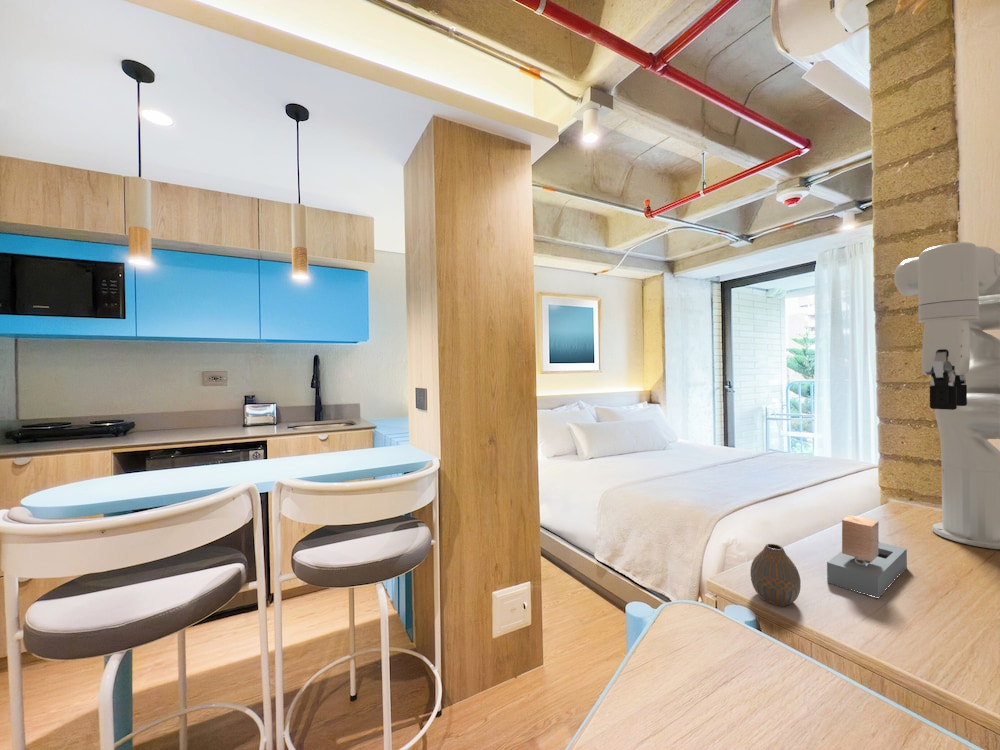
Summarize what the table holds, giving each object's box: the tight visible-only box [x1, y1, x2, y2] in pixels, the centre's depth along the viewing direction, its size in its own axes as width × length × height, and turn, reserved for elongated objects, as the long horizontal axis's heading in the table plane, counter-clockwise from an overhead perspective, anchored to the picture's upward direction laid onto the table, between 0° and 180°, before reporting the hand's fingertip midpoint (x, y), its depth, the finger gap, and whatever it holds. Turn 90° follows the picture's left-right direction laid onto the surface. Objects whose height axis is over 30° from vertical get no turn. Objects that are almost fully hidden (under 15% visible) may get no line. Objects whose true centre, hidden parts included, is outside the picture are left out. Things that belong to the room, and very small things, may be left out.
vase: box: [749, 543, 802, 607], centre depth 69 cm, size 7×7×9 cm
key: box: [841, 514, 880, 566], centre depth 73 cm, size 4×4×10 cm
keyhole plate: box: [826, 541, 908, 597], centre depth 76 cm, size 18×7×4 cm, turn 125°
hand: (948, 407), depth 76 cm, fingers open, 9 cm apart
